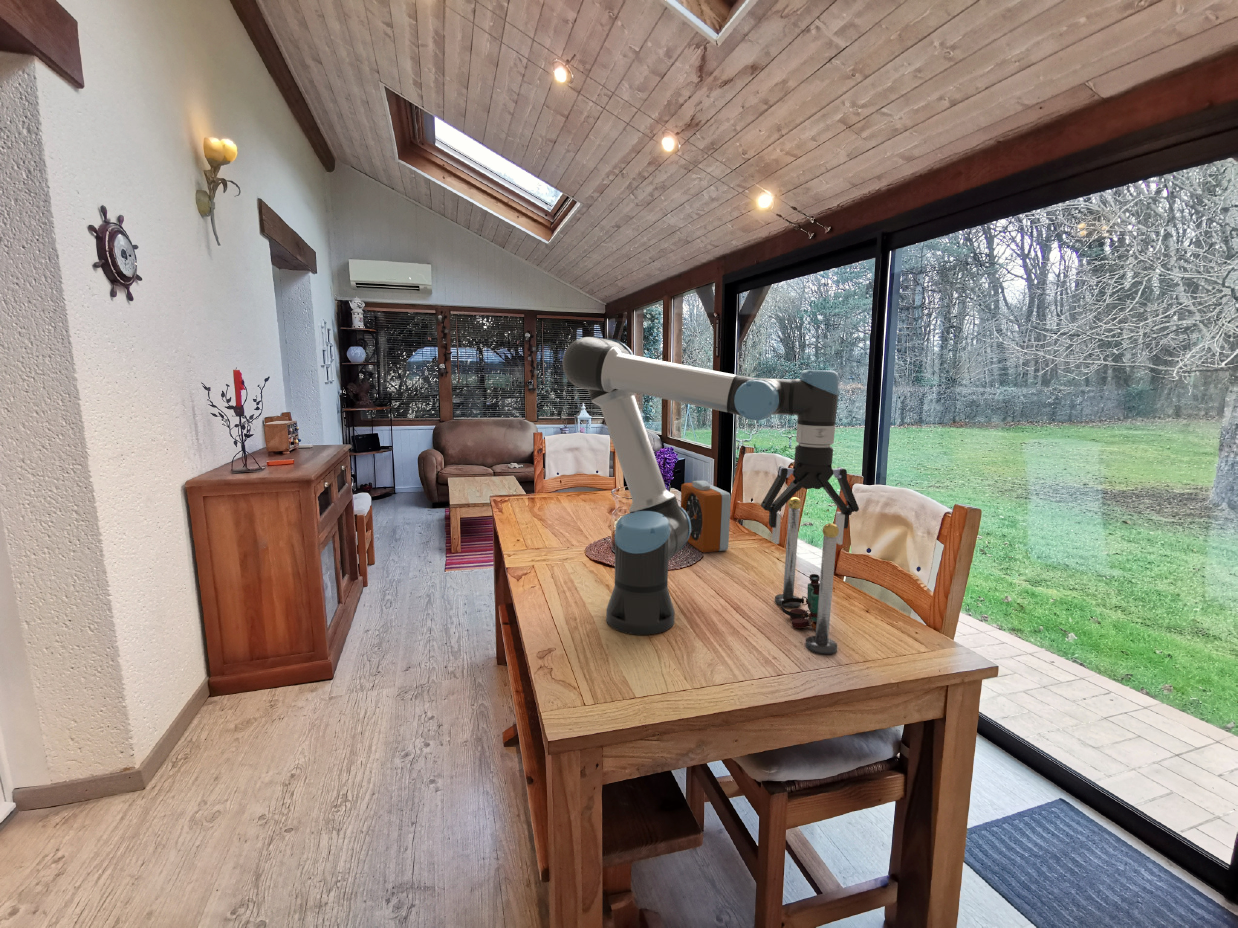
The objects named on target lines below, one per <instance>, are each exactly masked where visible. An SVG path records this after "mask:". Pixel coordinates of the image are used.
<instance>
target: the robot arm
mask: <svg viewBox="0 0 1238 928" xmlns="http://www.w3.org/2000/svg"><path fill="white" fill-rule="evenodd" d="M562 368H563V369H562V370H563V372H564V375H565V376H566V379H567V380H568V381H569V382H570V384H573V386H575V387H577V388H579V389H583V390H587V392H588V394H589V397H590V400H591V403H593V404H595V405H596V406H598V407H599V408H600V410H601V413H602V417H603V419H604V421H605V424H606V427H607V430H608V433H609V436H610V439H611V442H612V445H613V449H614V450H615V453H616V457H617V460H618V463H619V464H620V468H621V471H622V474H623V477H624V479H625V482H626V485H627V488H628V492H629V494H630V498H631V500H632V501H631V502H632V503H631V505H630V507H629V509H628V511H629V513H626V514H624V515H622V516H621V517H619V519H618V520H617V522H616V524H615V532H614V535H613V536H614V585H613V586H614V587H613V589H612V592H611V595H610V598H609V601H608V603H607V607H606V609H605V610H606V611H605V612H606V613H605V614H606V617H605V619H606V623H607V624H608V625H609V627H611V628H612V629H614V630H616V631H618V632H621V633H623V634H624V633H625V634H628V635H634V636H635V635H638V636H647V635H656V634H660V633H664V632H665V631H667V630H669V629H671V628H672V627H673V626H674V624H675V617H676V615H675V614H676V613H675V608H674V606H673V605H674V604H673V602H672V598H671V596H670V592H669V589H668V587H669V586H668V583H669V582H668V579H669V578H668V576H669V575H668V574H669V561H670V560H671V559H673V557H675V555H677V554H678V552H680V551H681V550H682V549H683V548H684V547H685V546H686V544H687V543H688V542H687V540H688V539H689V536H690V533H691V522H690V518H689V516H688V514H687V513H686V511H685V510H684V509H683V508H681V505H679V503H678V500H677V496H676V495H675V494H674V493H673V492H671V491H669V490H668V489H667V487H666V484H665V481H664V479H663V475H662V473H661V469H660V467H659V464H658V461H657V457H656V456H655V452H654V449H653V446H652V443H651V440H650V438H649V435H648V432H647V431H648V430H647V428H646V425H645V422H644V420H643V417H642V414H641V411H640V408H639V406H638V402H637V400H636V397H635V395H636V394H638V395H643V396H649V397H654V398H656V399H657V398H658V399H662V400H667V401H672V402H676V403H680V404H681V403H682V404H685V405H686V404H687V405H692V406H695V407H700V408H706V409H711V410H714V411H720V412H724V413H729V414H732V415H737V416H740V417H742V418H745V419H747V420H751V421H763V420H766V419H767V418H769V417H770V416H772V415H775V416H777V415H781V416H783V415H784V416H797V425H796V435H795V436H796V437H795V442H796V443H797V444H796V446H794V447H795V449H794V460H793V461H794V462H793V463H794V464H793V467H792V468H791V467H785V466H783V465H780V466H778V471H777V476H776V477H775V479H774V481H773V482H772V484H771V486H770V488H769V490H767V491H768V492H767V493H766V495H764V496H765V497H764V498H763V499H762V502H761V503H760V506H761V508H762V509H763V510H764V511H767V512H769V514H768V525H769V527H770V528H772V535H771V541H772V542H773V543H774V544H776V545H778V544H780V536H781V535H780V533H781V521H782V513H780V510H781V509H782V508H783V507H784V506H785V505H786V504H788V501H789V500H790V499H791V498H793V497H794V495H795V494H796V493H797V492H799V491H800V490H802V488H803V489H805V490H810V489H811V490H812V489H815V490H821V489H823V490H824V491H825V492H826V494H827V495H828V496H829V497H830V499H831V500H832V502H833V503H834V505H836V506H837V508H838V510H840V511H836V512H835V513H836V514H835V523H834V524H835V525H836V526H837V527H838V529H839V534H838V536H837V541H836V545H839V546H841V545H843V544H844V542H843V541H844V529H846V530H847V529H848V528H849V521H850V520H849V518H850V516H851V515H852V514H853V513H854V512H856V513H857V512H859V510H860V508H859V505H858V503H857V500H856V498H855V495H854V493H853V491H852V488H851V486H850V482H849V481H848V470H847V469H846V468H844V467H843V466H842V467H841V466H838V467H836V468H833V467H832V465H833V458H834V457H833V455H834V448H833V446H831V445H834V442H835V431H836V419H837V412H838V411H837V409H838V400H839V381H840V379H839V378H840V376H839V374H838V373H837V372H836V371H834V370H820V369H818V370H816V369H815V370H813V369H812V370H810V369H807V370H806V369H804V370H802V371H801V373H800V376H799V378H795V379H788V378H787V379H784V378H783V379H782V378H765V377H763V378H762V377H749V376H744V375H738V374H733V373H728V372H722V371H717V370H713V369H712V370H711V369H707V368H702V367H696V366H692V365H685V364H680V363H675V362H670V361H664V360H660V359H654V358H648V357H644V356H639V355H634V353H633V351H632V350H631V349H630V347H628V346H627V344H624V343H623V342H621V341H620V340H616V339H614V338H599V337H593V336H585V337H581V338H578V339H576V340H574V341H573V342H571V343H570V344H568V347H567V348H566V349H565V351H564V354H563V357H562ZM791 475H792V477H793V480H792V481H791V482H790V483H789V485H788V486H787V487H786V488H785V489H784V490H783V492H781V494H780V495H779V493H780V491H781V489H782V488H783V486H784V484H785V482H786V480H787V479H788V478H790V476H791ZM832 476H834V478H835V479H837V482H838V484H839V487H840V490H841V492H842V495H843V497H844V498H845V501H846V503H845V502H844V501H843V499H842V498H841V497H840V496H839V494H838V493H837V491H836V489H834V487H833V485H832V484H831V483H830V482H829V480H830V479H831V478H832ZM778 495H779V496H778ZM777 496H778V497H777Z"/></svg>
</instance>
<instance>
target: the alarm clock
mask: <svg viewBox="0 0 1238 928" xmlns="http://www.w3.org/2000/svg"><path fill="white" fill-rule="evenodd" d="M680 489H681V490H680V507H681V508H683V509H684V510H685V511H686V513H687V514H688V516H689V518H690V522H691V533H690V536H689V539H688V540H687V542H686V543H689V544H690V545H691V546H692V547H694V548H695V549H697V550H698V551H700V552H701V553H713V552H721V551H722V552H723V551H724V552H725V551H728V549H729V543H730V541H729V539H730V538H729V537H730V524H731V522H730V518H731V503H732V502H731V500H732V497H731V494H730V492H728V491H726V490H723V489H721V488H719V487H717V486H714V485H712V484H710V483H709V482H708V481H707V480H693V481H692V482H685V483H682V484H681V486H680Z"/></svg>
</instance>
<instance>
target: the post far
mask: <svg viewBox="0 0 1238 928" xmlns="http://www.w3.org/2000/svg"><path fill="white" fill-rule="evenodd" d="M787 506H788V518H787V532H786V547H785V558H784V559H785V562H784V563H785V564H784V573H783V575H784V576H783V588H782V591H783V592H782V593H780V594H777V595H775V597H774V603H775V604H776V605H777V606H779V607H781V601H783V600H784V599H787V598H800V597H799V596H797V595H794V592H795V579H796V568H797V567H796V565H797V551H798V550H797V549H798V540H799V539H798V538H799V537H798V535H799V524H800V523H799V522H800V511H801V510H800V509H801V506H802V501H801V499H800V498H799V497H797V496H796V497H795V496H792V497H791V498H790V499H789V500H788V502H787ZM801 605H802V603H798V602H789V603H785V604H784V605H782V607H783V608H785V609H798V608H800V607H801Z"/></svg>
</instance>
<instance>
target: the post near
mask: <svg viewBox="0 0 1238 928" xmlns="http://www.w3.org/2000/svg"><path fill="white" fill-rule="evenodd" d="M838 534H839V529H838V527H837V526H836V525H835V523H833V522H828V523H826V524H825V525H824V526H822V535H823V541H822V550H821V551H822V552H821V553H822V554H821V563H820V575H819V577H820V580H819V584H820V587H819V600H818V612H817V624H816V629H815V635H813V636H808V637H807V638H806V639H805V643H804V645H805V648H806V649H807V650H808V651H809V652H811V653H813V654H816V655H821V656H832V655H834V654H836V653H837V652H838V643H837V642H835V641H834V640H833V639H831V638H829V634H830V632H829V631H830V622H831V609H832V608H831V607H832V597H833V586H834V574H835V561H836V551H837V543H836V541H837V536H838Z"/></svg>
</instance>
